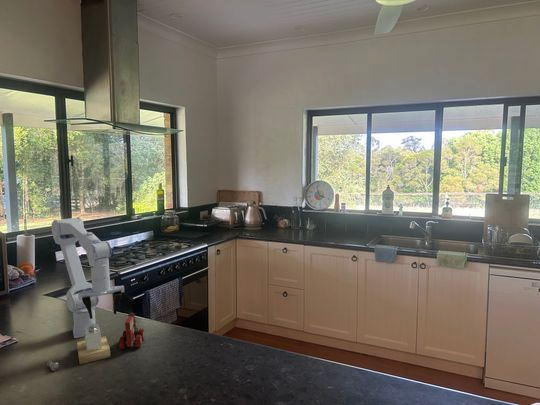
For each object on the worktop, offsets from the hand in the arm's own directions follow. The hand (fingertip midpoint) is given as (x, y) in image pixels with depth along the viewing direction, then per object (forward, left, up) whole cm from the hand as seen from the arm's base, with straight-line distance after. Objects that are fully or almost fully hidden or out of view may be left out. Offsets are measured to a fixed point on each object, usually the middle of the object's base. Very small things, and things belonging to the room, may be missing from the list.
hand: (103, 315), depth 133 cm
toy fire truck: (+5, +8, -11) cm, 14 cm away
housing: (+5, -4, -8) cm, 10 cm away
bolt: (+9, -16, -10) cm, 21 cm away
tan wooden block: (+5, -4, -10) cm, 12 cm away
